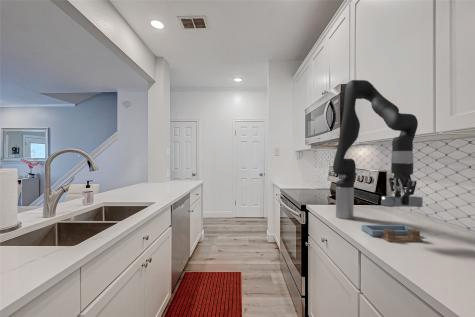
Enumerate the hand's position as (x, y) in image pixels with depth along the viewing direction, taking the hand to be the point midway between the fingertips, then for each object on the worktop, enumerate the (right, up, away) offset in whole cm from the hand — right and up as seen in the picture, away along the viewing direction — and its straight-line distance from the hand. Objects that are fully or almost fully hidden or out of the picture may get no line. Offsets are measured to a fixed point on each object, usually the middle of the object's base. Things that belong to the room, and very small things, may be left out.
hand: (401, 203), depth 100 cm
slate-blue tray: (0, -15, +8) cm, 17 cm away
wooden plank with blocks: (0, -15, 0) cm, 15 cm away
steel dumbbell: (0, -1, 0) cm, 1 cm away
